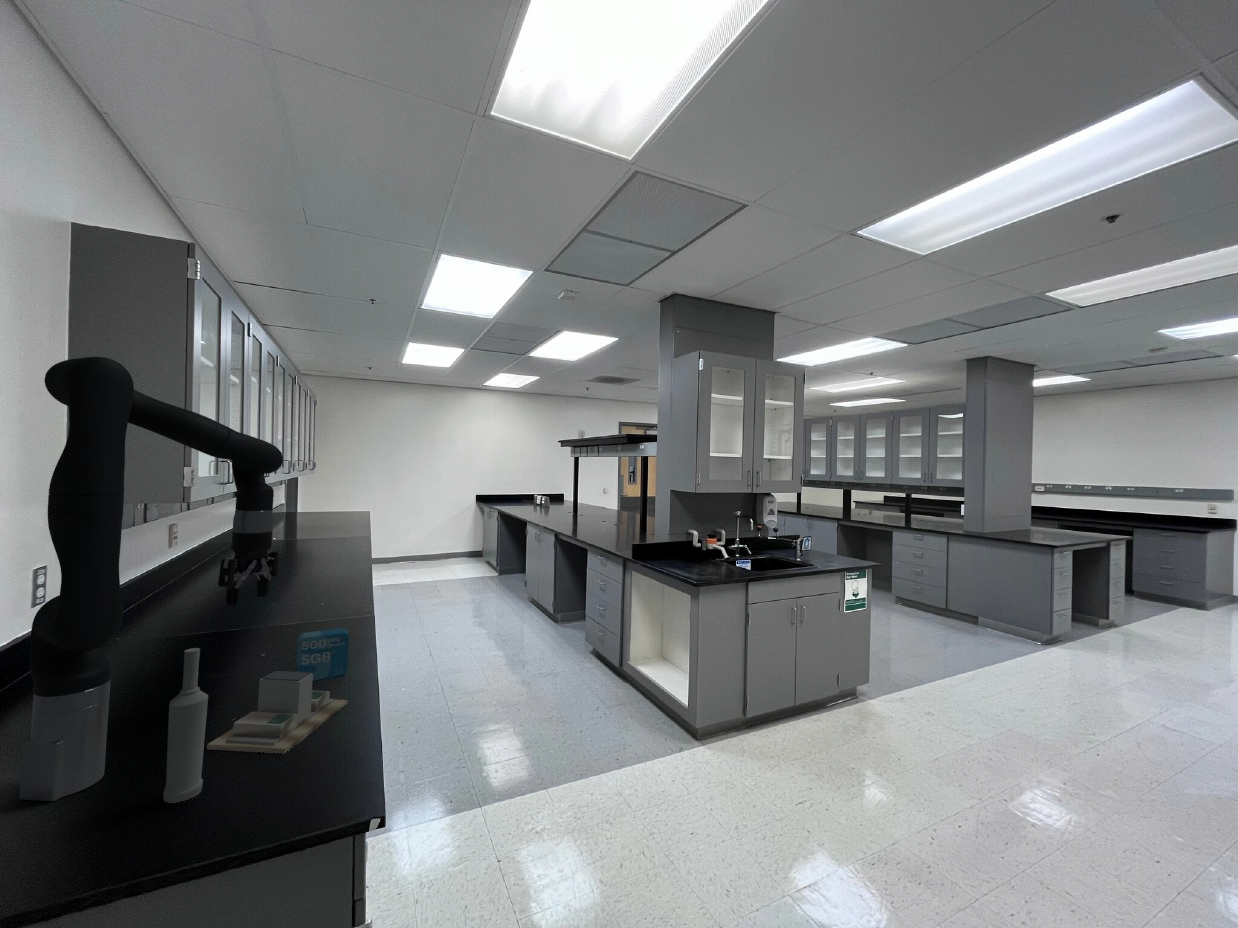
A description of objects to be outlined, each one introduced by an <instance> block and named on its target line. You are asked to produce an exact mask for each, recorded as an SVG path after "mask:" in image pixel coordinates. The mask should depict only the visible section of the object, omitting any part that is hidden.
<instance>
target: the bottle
mask: <svg viewBox="0 0 1238 928" xmlns="http://www.w3.org/2000/svg"><path fill="white" fill-rule="evenodd" d="M183 653H184V656H183V663H184V664H183V674H182V675H183V679H182V689H181V690H179V694H177V695H176V696H175V697H174V698H173V699H171V700H170V701H169V704H168V705H169V706H168V725H167V726H168V728H167V753H166V754H167V755H166V779H165V782H166V783H165V788H164V790H163V802H164V801H165V802H168V803H176V802H177V803H178V802H180V801H185V800H188V799H190V798H193V797H195V796H196V795H198V794H199V793H200V794H201V792H202V789H203V784H204V783H203V782H204V780H203V778H202V771H203V760H204V747H205V737H206V736H205V735H206V724H207V715H208V714H207V713H208V702H209V694H207V693H205V692H204V691H201V689H200V688H201V687H200V686H198V678H199V664H200V663H199V662H200V653H201V648H199V647H193V648H188V649H185V650H184V652H183ZM200 794H199V795H200ZM199 795H198V796H199ZM195 798H196V797H195ZM165 802H164V803H165Z"/></svg>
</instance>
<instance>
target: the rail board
mask: <svg viewBox="0 0 1238 928" xmlns="http://www.w3.org/2000/svg"><path fill="white" fill-rule="evenodd" d="M330 693H331V692H330V691H329V690H328V691H326V690H312V700H311V714H310V715H308V716H307V717H306V718H304V719H303V720H302V721H300V722H299V723H298V724H297V714H284V713H267V712H258V711H251V712H249V713H248V714H246V715H244V716H243V717H241V718H240V719H238V720H236V721H235V722H233V727H232V728H231V729H230V730H228V731H227V732H225V733H223V734H222V735H220V736H219V737H217V738H215V739H214V740H212V741H210V742H208V743H207V745H206V750H208V751H209V750H210V751H211V750H213V751H225V752H226V751H229V752H242V751H243V753H258V752H261V753H263V752H264V753H263V754H274V753H275V754H276V755H277V753H278V755H285V753H286V752H287V751H288V752H290V751H291V750H292V749H293V748H294V746H295V745H296V746H297V745H298V744H300V743H301V742H302V741H304V740H305V739H306V738H308V737H309V736H310V735H311V734H312V733H314V730H315V731H316V730H317V729H319V728H320V727H321V726H322V725H323V724H322V723H323V722H325V721H326V720H327V719H329V717H331V716H332V715H333V714H335V713H336V712H337V711H339V710H340V709H341V708H342V707H344V706H345V705H346V704H348V703H349V700H347V699H334V698H330V695H331V694H330ZM346 706H347V705H346ZM346 706H345V707H346ZM345 707H344V708H345ZM341 710H342V709H341ZM341 710H340V711H341ZM340 711H339V712H340ZM337 713H338V712H337ZM337 713H336V714H337ZM336 714H335V715H336ZM332 717H333V716H332ZM332 717H331V718H332ZM329 720H330V719H329ZM327 721H328V720H327ZM327 721H326V722H327ZM326 722H325V723H326ZM321 724H322V725H321ZM320 725H321V726H320ZM319 726H320V727H319ZM318 727H319V728H318ZM309 734H310V735H309ZM305 737H306V738H305ZM296 746H295V747H296ZM291 748H292V749H291ZM290 749H291V750H290ZM288 752H287V753H288ZM280 753H281V754H280ZM287 753H286V754H287Z"/></svg>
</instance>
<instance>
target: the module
mask: <svg viewBox="0 0 1238 928" xmlns="http://www.w3.org/2000/svg"><path fill="white" fill-rule="evenodd" d="M258 684H259V685H258V699H257V712H267V713H284V714H297V724H298V723H299V722H300V721H302V720H303V719H304V718H306V717H307V716H308V715H310V714H311V700H312V691H313V674H310V673H306V672H296V671H283V670H282V671H281V670H275V671H273V672H271V673H268V674H267V675H265V676H264V677H261V678H260V679H259V682H258Z"/></svg>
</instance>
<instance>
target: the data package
mask: <svg viewBox="0 0 1238 928" xmlns="http://www.w3.org/2000/svg"><path fill="white" fill-rule="evenodd" d="M348 632H349V631H348V630H347V629H346V628H334V629H328V630H327V629H326V630H317V631H308V632H303V633H301V634H300V635H299V636H298V638H297V646H296V649H297V651H296V664H295V666H296V669H295V672H306V673H310V674H313V681H320V679H321V680H326V679H333V678H337V677H338V676H339V677H343V676H344V675H346V674H347V672H348V671H349V670H348V669H349V668H348V667H349V650H350V649H349V647H350V635H349V633H348Z"/></svg>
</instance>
